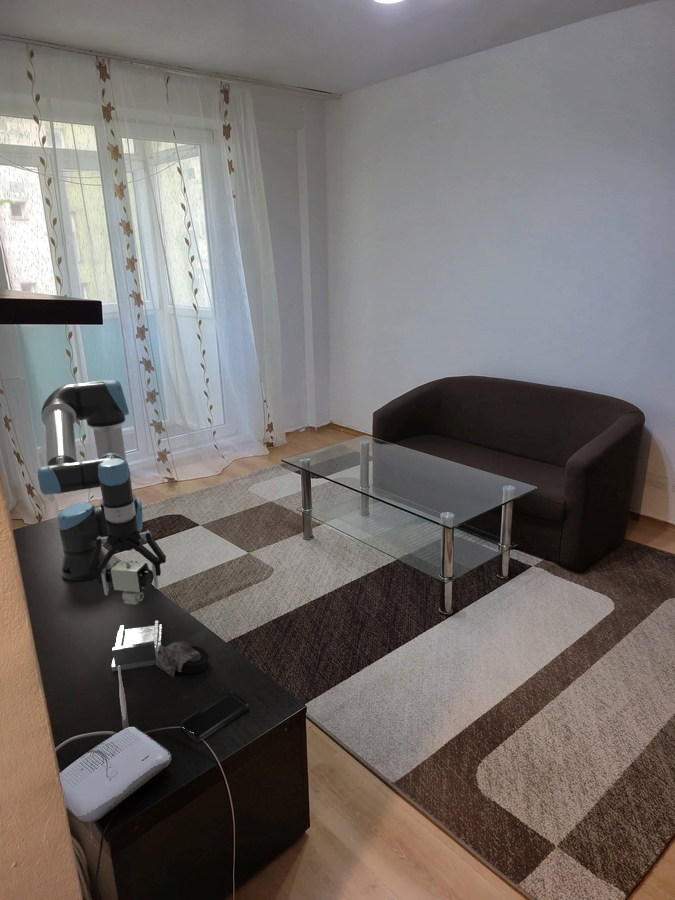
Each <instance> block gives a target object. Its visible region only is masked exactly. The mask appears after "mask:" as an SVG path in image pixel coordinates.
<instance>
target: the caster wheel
mask: <svg viewBox="0 0 675 900" xmlns="http://www.w3.org/2000/svg"><path fill="white" fill-rule="evenodd" d="M208 661H209V654H208V652H207V651H206V650H205V649H204V648H202V647H200V646H197V645H192V644H190V643H189V642H186V641H183V640H180V641H174V642H171V643H170V644H168V645H166V646H164V645H162V643H161V644H159V649H158V655H157V660H156V665H155V666H157V667H158V668H160V669H161V670H162V671H164V672H165V673H166V674H168V676H170V677H172V678H175V674H176V672H179V673H186V674H192V675H193V674H198V673H200V672H203V671H204V670H205V669H206V668H207V666H208Z"/></svg>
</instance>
